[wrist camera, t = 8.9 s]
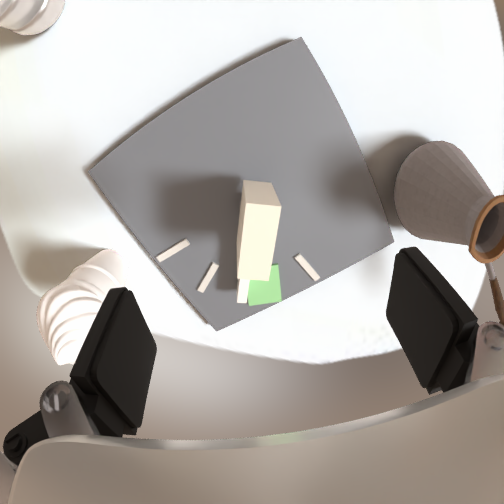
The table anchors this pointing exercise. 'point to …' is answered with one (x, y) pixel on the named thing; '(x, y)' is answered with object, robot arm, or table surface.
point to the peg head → (256, 234)
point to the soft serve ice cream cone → (78, 304)
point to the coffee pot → (451, 205)
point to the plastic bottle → (29, 15)
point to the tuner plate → (254, 169)
